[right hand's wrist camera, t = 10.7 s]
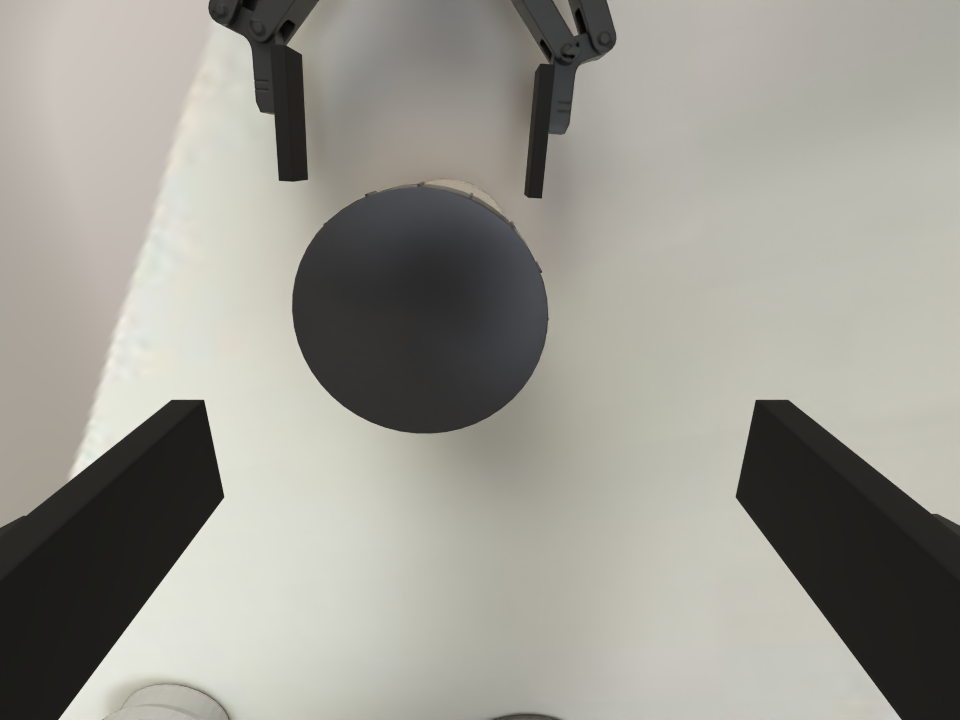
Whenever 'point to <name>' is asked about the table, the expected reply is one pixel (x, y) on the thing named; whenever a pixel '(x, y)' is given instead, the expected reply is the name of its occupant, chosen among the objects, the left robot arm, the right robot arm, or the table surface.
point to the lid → (420, 308)
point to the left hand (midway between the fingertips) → (413, 189)
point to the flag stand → (169, 705)
